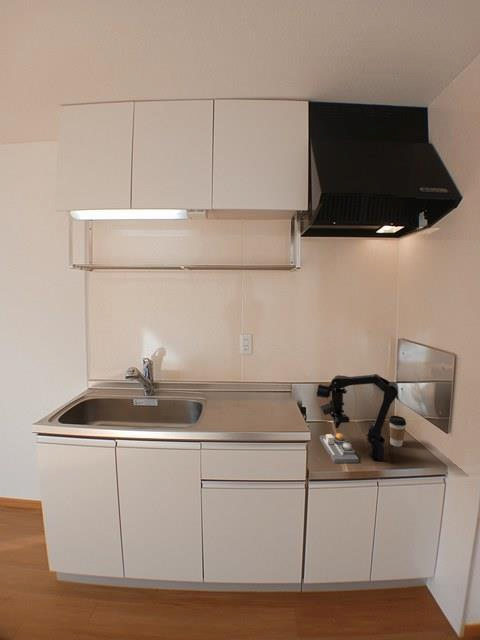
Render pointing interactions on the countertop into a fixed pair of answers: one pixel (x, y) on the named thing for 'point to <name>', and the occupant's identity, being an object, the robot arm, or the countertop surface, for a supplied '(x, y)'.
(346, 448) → the grey button
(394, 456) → the countertop surface
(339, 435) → the orange button
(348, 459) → the control panel
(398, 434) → the coffee cup
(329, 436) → the slider knob
